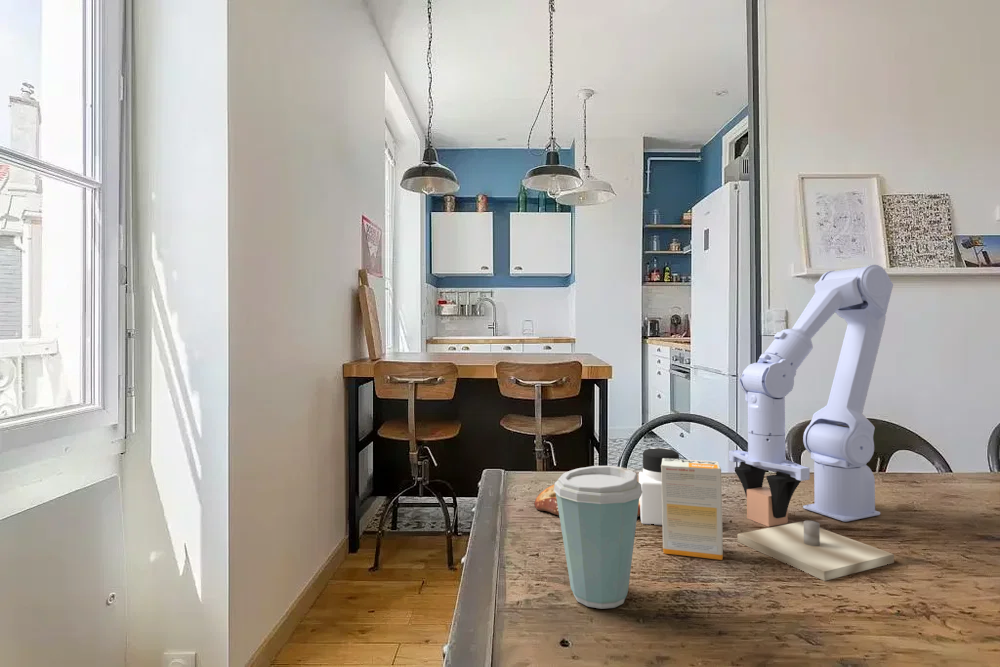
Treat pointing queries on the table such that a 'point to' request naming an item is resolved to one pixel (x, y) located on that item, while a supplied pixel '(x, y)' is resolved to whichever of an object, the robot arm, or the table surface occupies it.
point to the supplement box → (692, 508)
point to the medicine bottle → (653, 484)
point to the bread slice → (552, 501)
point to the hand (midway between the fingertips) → (766, 512)
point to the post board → (815, 549)
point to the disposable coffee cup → (598, 531)
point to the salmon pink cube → (762, 507)
